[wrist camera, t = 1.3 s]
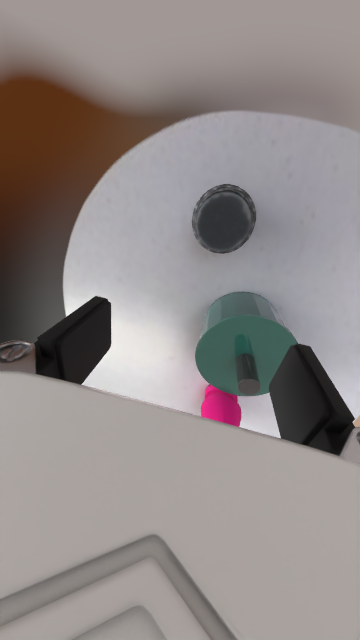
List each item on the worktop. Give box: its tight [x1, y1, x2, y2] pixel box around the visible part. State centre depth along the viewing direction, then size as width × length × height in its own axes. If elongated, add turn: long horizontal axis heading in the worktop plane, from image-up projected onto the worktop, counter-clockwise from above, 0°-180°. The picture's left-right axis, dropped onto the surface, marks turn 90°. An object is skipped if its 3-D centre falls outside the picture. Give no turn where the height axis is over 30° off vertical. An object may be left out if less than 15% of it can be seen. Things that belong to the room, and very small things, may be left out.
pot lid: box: [195, 314, 297, 396], centre depth 25 cm, size 13×13×6 cm
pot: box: [201, 292, 284, 336], centre depth 30 cm, size 12×12×8 cm
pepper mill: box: [201, 385, 241, 427], centre depth 33 cm, size 7×7×20 cm
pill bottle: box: [192, 184, 256, 254], centre depth 22 cm, size 6×6×11 cm
